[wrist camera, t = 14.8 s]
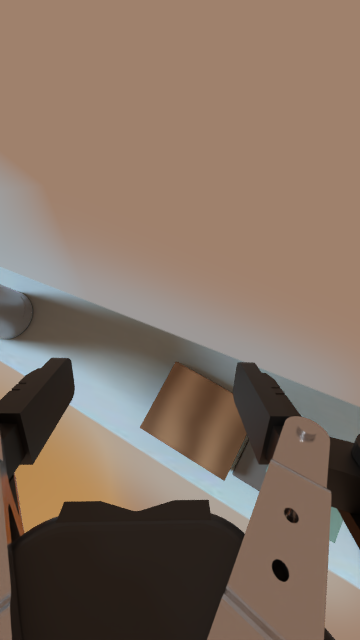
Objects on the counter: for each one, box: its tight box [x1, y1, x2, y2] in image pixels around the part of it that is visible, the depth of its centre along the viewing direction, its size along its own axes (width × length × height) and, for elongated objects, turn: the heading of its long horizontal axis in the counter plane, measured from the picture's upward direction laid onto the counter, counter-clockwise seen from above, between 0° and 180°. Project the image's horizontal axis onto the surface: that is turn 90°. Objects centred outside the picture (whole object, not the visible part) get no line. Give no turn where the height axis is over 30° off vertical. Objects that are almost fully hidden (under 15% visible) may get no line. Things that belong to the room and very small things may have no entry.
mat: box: [232, 440, 268, 491], centre depth 35 cm, size 12×12×1 cm
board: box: [140, 362, 247, 481], centre depth 35 cm, size 14×11×4 cm
